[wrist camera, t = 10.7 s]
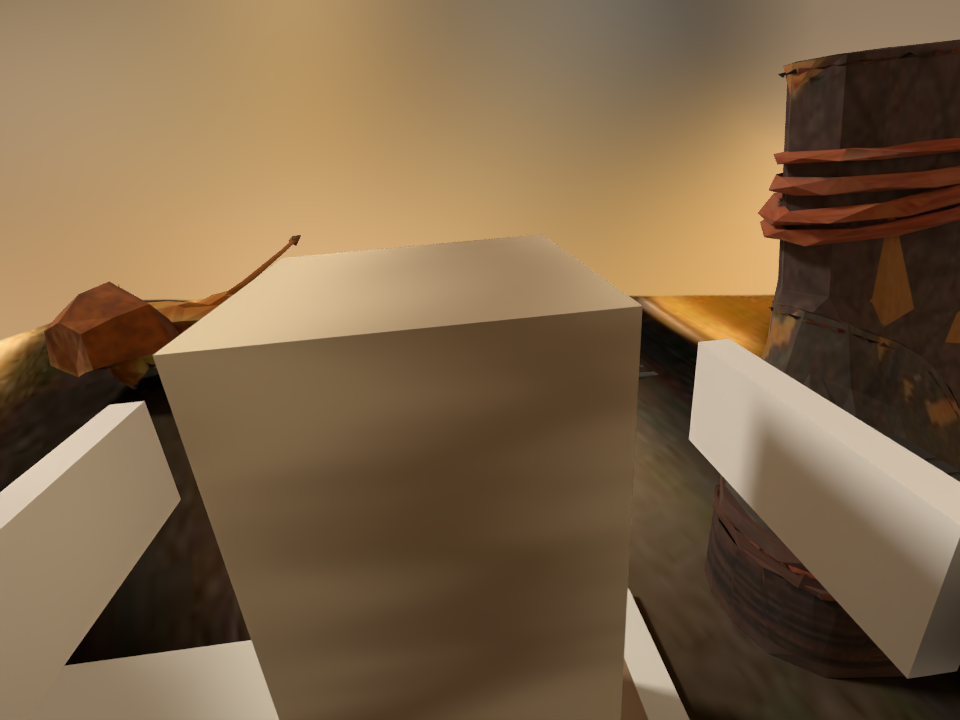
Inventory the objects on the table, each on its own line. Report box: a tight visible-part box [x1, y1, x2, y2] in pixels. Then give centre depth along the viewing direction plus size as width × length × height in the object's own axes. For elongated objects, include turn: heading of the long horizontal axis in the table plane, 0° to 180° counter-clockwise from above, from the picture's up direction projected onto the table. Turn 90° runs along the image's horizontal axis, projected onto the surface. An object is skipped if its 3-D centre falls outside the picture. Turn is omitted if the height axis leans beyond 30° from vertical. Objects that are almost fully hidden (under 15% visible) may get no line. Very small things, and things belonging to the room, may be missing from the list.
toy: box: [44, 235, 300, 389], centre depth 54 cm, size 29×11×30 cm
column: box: [152, 234, 642, 720], centre depth 10 cm, size 5×5×12 cm
